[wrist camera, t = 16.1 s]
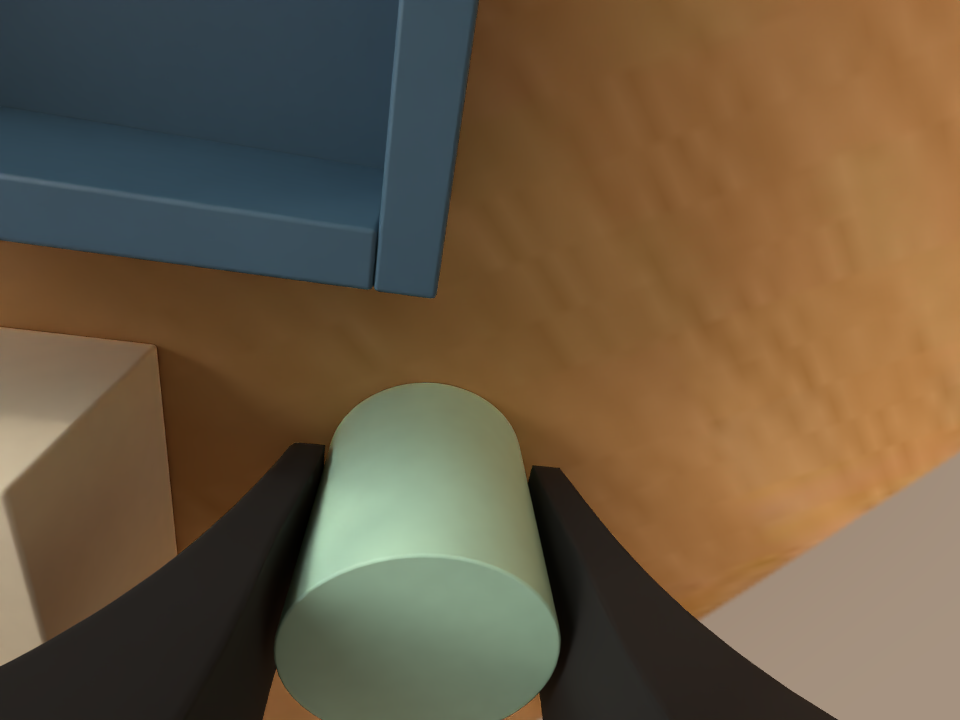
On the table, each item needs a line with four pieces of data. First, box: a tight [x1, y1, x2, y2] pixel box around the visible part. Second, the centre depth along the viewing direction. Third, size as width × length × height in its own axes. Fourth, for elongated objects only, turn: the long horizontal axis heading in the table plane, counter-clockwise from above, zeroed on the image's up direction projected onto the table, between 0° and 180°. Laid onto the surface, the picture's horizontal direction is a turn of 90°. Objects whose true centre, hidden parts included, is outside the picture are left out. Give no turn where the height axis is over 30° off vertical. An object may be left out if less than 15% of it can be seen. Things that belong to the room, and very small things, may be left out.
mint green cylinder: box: [274, 383, 561, 720], centre depth 11 cm, size 4×4×5 cm
